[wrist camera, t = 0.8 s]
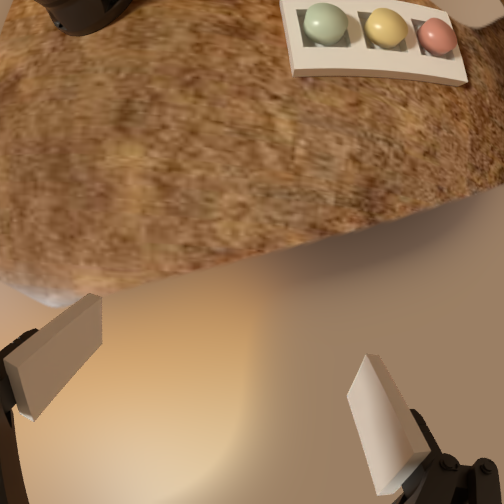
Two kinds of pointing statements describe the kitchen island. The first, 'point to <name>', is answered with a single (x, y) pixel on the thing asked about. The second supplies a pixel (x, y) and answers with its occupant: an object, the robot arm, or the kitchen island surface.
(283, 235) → the kitchen island surface
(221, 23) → the kitchen island surface
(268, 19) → the kitchen island surface
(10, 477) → the robot arm
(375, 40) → the ochre button
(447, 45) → the brick button
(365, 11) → the panel
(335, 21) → the sage button
